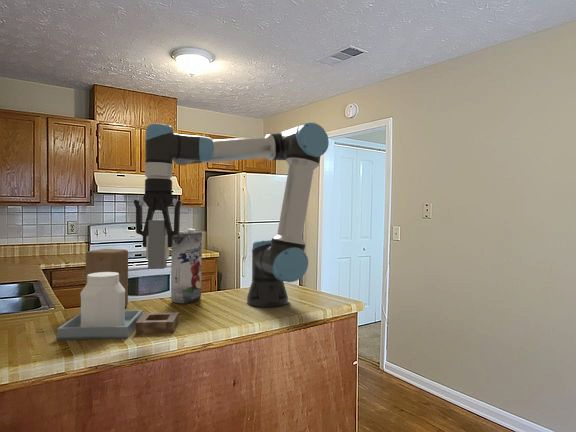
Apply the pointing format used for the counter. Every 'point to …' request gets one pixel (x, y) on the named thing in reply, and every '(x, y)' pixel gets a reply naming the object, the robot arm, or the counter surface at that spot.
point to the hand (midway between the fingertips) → (157, 258)
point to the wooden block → (109, 264)
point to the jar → (103, 301)
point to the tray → (98, 328)
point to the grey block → (156, 244)
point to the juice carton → (186, 267)
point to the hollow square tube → (157, 323)
